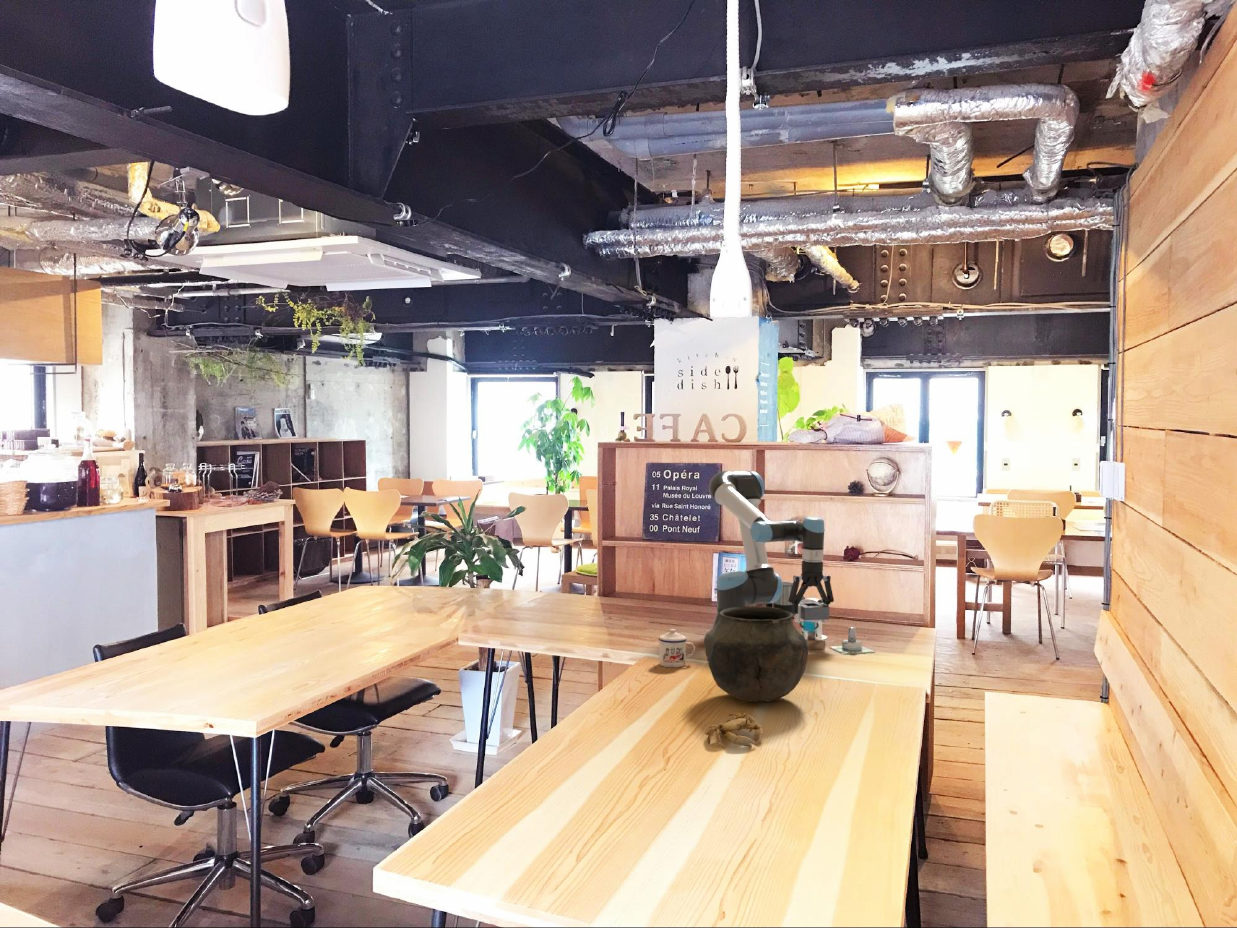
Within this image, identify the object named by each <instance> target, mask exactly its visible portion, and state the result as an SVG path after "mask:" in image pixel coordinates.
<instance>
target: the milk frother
mask: <svg viewBox="0 0 1237 928" xmlns="http://www.w3.org/2000/svg"><path fill="white" fill-rule="evenodd" d="M782 584H783V589H782V593H781V595H780V598H779V599H778V600H777V601H776V602H774V603H769V604H765V607H772V608H778V609H782V610H785V611H788V612H790V613H792V614H793V604H792V603H790V602H789V601H788V600H789V596H790V593H791V589H792V585H793V582H790V581H782ZM793 618H794V619H795V615H793ZM793 618H792V620H794V619H793Z"/></svg>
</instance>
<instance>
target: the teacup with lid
mask: <svg viewBox="0 0 1237 928" xmlns="http://www.w3.org/2000/svg"><path fill="white" fill-rule="evenodd" d="M658 641H659V648H658V649H659V652H658V655H659V656H658V657H659V659H658V661H659V662H658V663H659V665H660V666H662V667H664V668H674V669H675V668H682V667H685V665H686V658H687V659H688V658H691V657H692V656H693V655H694V654H695V651H696V646H695V644H694V643H693V642H691V641H690V642H689V641H687V637H686V636H684V635H682V634H680V633H679V632H677V629H675V628H670V629H669V631H668V632H666V633H665V634H661V635H660V636H659V637H658ZM687 645H690V646H691V647H692V650H691V652H690V653H689V654H686V647H687Z"/></svg>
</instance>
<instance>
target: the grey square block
mask: <svg viewBox="0 0 1237 928" xmlns="http://www.w3.org/2000/svg"><path fill="white" fill-rule="evenodd" d="M799 605H801V616H800V618H801V619H803V620H826V621H827V620H830V606H829V607H828V606H826V605H824V604H821V603H819V602H800V603H799ZM793 615H794V616H795V613H794V612H793Z"/></svg>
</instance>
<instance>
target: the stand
mask: <svg viewBox="0 0 1237 928" xmlns="http://www.w3.org/2000/svg"><path fill="white" fill-rule="evenodd" d="M805 639H806V642H807V646H808V651H809V650H825V649H826V639H825V640H823V639H820V638H818V637H816V632H814V631H808V637H805Z"/></svg>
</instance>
